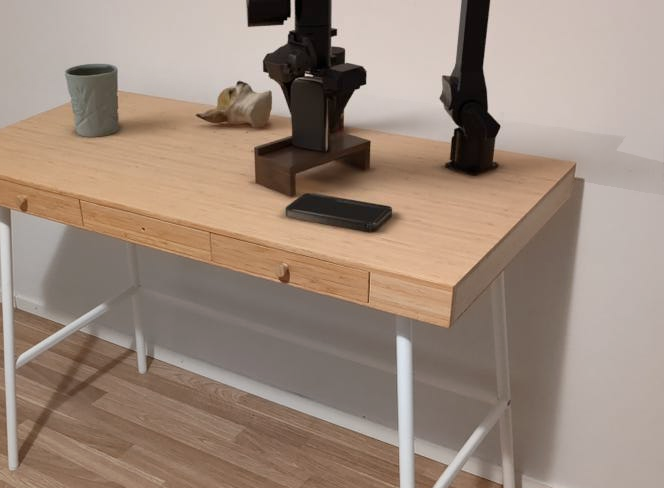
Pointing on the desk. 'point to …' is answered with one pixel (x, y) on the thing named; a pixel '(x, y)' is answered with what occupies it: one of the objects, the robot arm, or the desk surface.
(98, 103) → the green planter pot
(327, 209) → the phone
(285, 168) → the shelf
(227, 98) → the ceramic sculpture
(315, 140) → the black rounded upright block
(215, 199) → the desk surface
